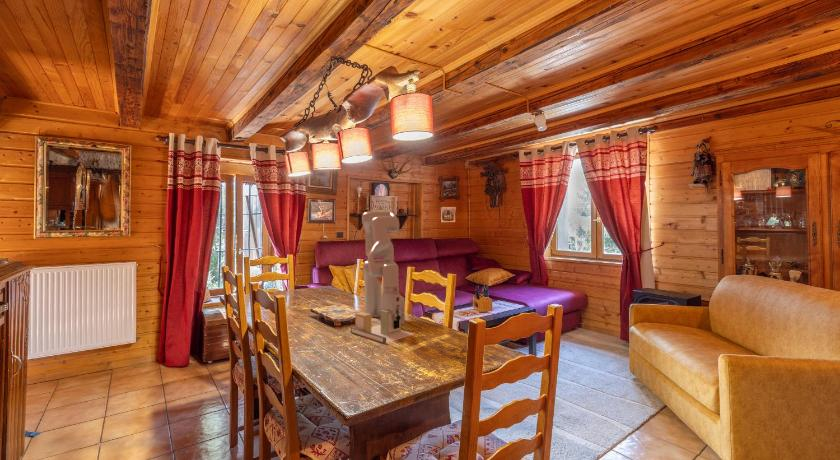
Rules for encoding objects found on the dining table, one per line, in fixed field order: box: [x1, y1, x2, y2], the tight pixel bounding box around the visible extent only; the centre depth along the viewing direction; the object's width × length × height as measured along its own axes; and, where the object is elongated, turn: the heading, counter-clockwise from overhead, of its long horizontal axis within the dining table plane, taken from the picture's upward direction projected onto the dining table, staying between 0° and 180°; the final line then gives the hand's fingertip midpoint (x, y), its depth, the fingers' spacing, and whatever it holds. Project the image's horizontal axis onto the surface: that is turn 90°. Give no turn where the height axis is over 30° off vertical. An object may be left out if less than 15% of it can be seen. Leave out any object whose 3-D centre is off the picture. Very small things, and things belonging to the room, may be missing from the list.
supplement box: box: [400, 294, 406, 325], centre depth 205 cm, size 9×9×15 cm
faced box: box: [354, 311, 372, 333], centre depth 188 cm, size 4×7×9 cm, turn 47°
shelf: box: [350, 323, 415, 345], centre depth 187 cm, size 19×24×4 cm
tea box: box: [380, 310, 402, 335], centre depth 188 cm, size 5×9×11 cm, turn 137°
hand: (390, 326), depth 188 cm, fingers open, 7 cm apart
